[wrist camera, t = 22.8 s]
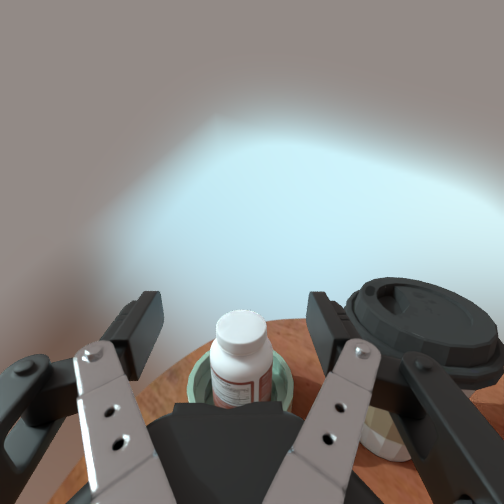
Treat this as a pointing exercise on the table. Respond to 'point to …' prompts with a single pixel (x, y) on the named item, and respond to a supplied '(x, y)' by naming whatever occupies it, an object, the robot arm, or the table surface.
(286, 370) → the bowl
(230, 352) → the pill bottle
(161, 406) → the table surface
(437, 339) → the coffee cup
